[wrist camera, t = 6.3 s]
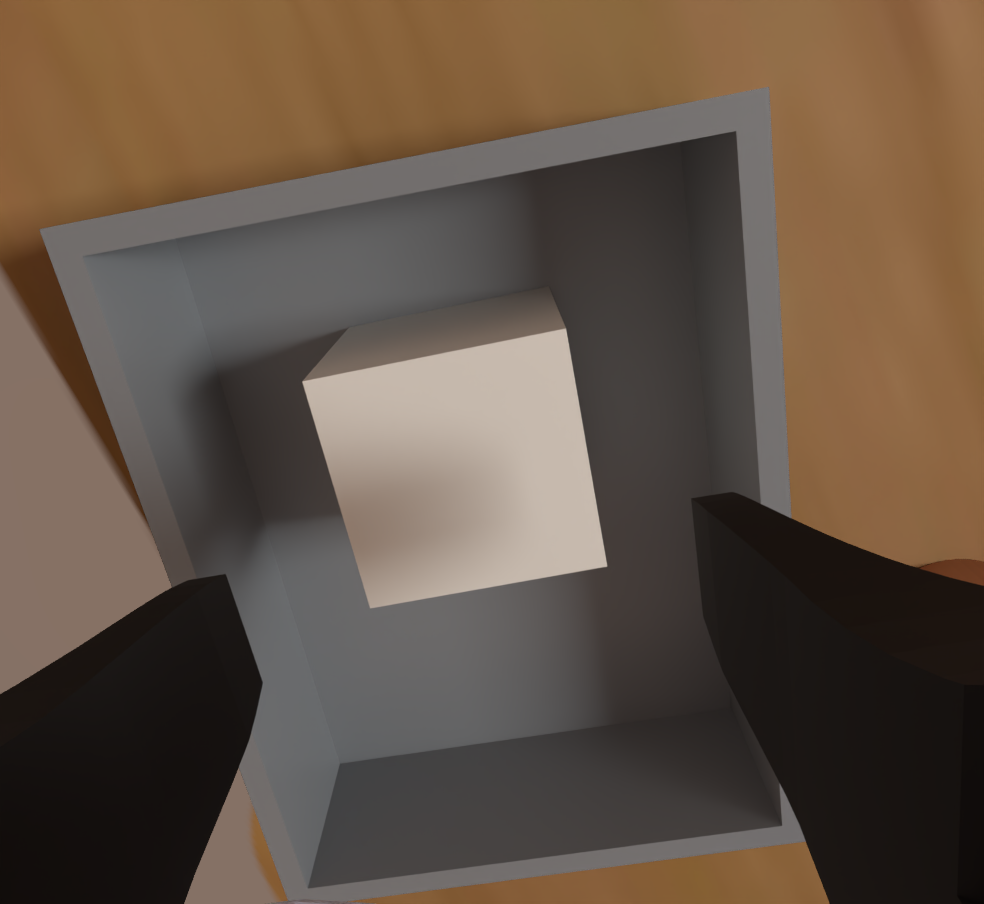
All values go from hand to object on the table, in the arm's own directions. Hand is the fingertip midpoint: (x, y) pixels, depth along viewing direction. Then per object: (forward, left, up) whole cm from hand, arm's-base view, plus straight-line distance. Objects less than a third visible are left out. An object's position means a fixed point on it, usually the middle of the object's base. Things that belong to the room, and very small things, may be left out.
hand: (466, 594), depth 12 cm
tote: (-2, 0, -9) cm, 10 cm away
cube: (0, 0, -9) cm, 9 cm away
